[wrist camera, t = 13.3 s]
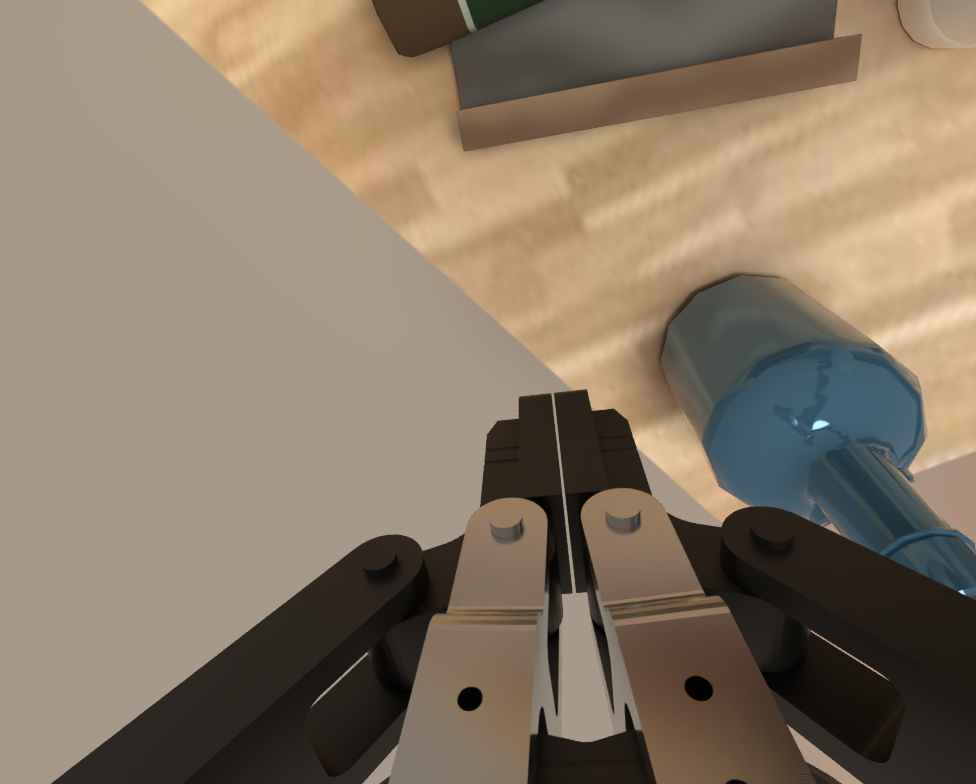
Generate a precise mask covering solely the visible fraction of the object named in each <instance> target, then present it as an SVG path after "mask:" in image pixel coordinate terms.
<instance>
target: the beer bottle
mask: <svg viewBox="0 0 976 784" xmlns="http://www.w3.org/2000/svg"><path fill="white" fill-rule="evenodd" d="M542 1H544V0H372V2H373V5H374V7H375V10H376V12H377V15H378V17H379V19H380V21H381V22H382V24H383V26H384V28H385V30H386V32H387V34H388V36H389V38H390V40H391V41H392V43H393V45H394V47H395V49H396V51H397V53H398V54H399V55H402V56H406V57H415V56H418V55H421V54H423V53H426V52H429V51H431V50H434V49H437V48H439V47H441V46H444V45H446V44H448V43H450V42H453V41H455V40H457V39H459V38H462V37H464V36H466V35H468V34H471V33H473V32H475V31H477V30H479V29H482V28H484V27H486V26H488V25H491V24H493V23H495V22H497V21H500V20H502V19H504V18H506V17H509V16H511V15H513V14H515V13H517V12H520V11H522V10H524V9H526V8H529V7H531V6H533V5H535V4H538V3H540V2H542Z"/></svg>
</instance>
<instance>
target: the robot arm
mask: <svg viewBox="0 0 976 784" xmlns="http://www.w3.org/2000/svg"><path fill="white" fill-rule="evenodd" d="M554 397H555V406H556V415H557V424H558V433H559V443H560V452H561V461H562V470H563V479H564V488H565V496H566V506H567V515H568V524H569V533H570V542H571V550H572V559H573V569H574V578H575V586H576V593H582V592H587V594H588V602H589V609H590V619H591V629H592V635H593V640H594V644H595V649H596V653H597V658H598V662H599V667H600V671H601V676H602V680H603V684H604V689H605V693H606V698H607V702H608V707H609V712H610V716H611V720H612V725H613V730H614V735H613V736H610V737H606V738H603V739H600V740H597V741H593V742H578V741H574V740H570V739H566V738H561V690H562V686H561V685H562V684H561V683H562V628H561V622H562V618H563V605H562V594H570V593H572V583H571V574H570V564H569V554H568V545H567V537H566V536H567V535H566V525H565V517H564V507H563V497H562V487H561V478H560V469H559V460H558V451H557V441H556V432H555V424H554V416H553V405H552V396H551V393H549V394H540V395H531V396H521V397H519V419H511V420H501V421H497V422H496V424H495V425H494V426H493V428H492V429H491V430H490V431H489V433H488V434H487V441H486V453H485V465H484V472H483V483H482V494H481V504H480V508H479V509H478V510H477V511H475V512H474V514H473V515H472V516H471V518H470V519H469V521H468V524H467V527H466V531H465V533H464V534H463V535H462V536H460V537H459V538H457V539H455V540H453V541H451V542H448V543H446V544H443V545H440V546H437V547H434V548H431V549H428V550H425V551H422V549H421V547H420V546H419V544H418V543H417V542H416V541H415V540H413V539H412V538H409V537H407V536H403V535H385V536H380V537H377V538H374V539H371V540H369V541H367V542H365V543H363V544H361V545H360V546H358V547H357V548H355V549H354V550H353V551H351V552H350V553H349V554H348V555H346V556H345V557H344V558H342V559H341V560H340V561H339V562H337V563H336V564H335V565H333V566H332V567H331V568H329V569H328V570H327V571H326V572H324V573H323V574H322V575H320V576H319V577H318V578H317V579H315V580H314V581H313V582H311V583H310V584H309V585H307V586H306V587H305V588H304V589H302V590H301V591H300V592H298V593H297V594H296V595H295V596H293V597H292V598H291V599H289V600H288V601H287V602H286V603H284V604H283V605H282V606H280V607H279V608H278V609H277V610H275V611H274V612H272V613H271V614H270V615H269V616H267V617H266V618H265V619H263V620H262V621H261V622H260V623H258V624H257V625H256V626H255V627H253V628H252V629H251V630H249V631H248V632H247V633H245V634H244V635H243V636H241V637H240V638H239V639H238V640H236V641H235V642H234V643H232V644H231V645H230V646H228V647H227V648H226V649H225V650H223V651H222V652H221V653H219V654H218V655H217V656H216V657H214V658H213V659H212V660H210V661H209V662H208V663H207V664H205V665H204V666H203V667H201V668H200V669H199V670H197V671H196V672H195V673H194V674H192V675H191V676H190V677H188V678H187V679H186V680H185V681H183V682H182V683H181V684H179V685H178V686H177V687H175V688H174V689H173V690H172V691H170V692H169V693H168V694H166V695H165V696H164V697H162V698H161V699H160V700H159V701H157V702H156V703H155V704H153V705H152V706H151V707H150V708H148V709H147V710H146V711H144V712H143V713H142V714H140V715H139V716H138V717H137V718H135V719H134V720H133V721H131V722H130V723H129V724H128V725H126V726H125V727H124V728H122V729H121V730H120V731H119V732H117V733H116V734H115V735H113V736H112V737H111V738H109V739H108V740H107V741H106V742H104V743H103V744H102V745H100V746H99V747H98V748H96V749H95V750H94V751H93V752H91V753H90V754H89V755H87V756H86V757H85V758H84V759H82V760H81V761H80V762H78V763H77V764H76V765H74V766H73V767H72V768H71V769H69V770H68V771H67V772H66V773H64V774H63V775H61V776H60V777H59V778H58V779H56V780H55V781H54V782H53V783H52V784H362V783H363V782H364V781H365V780H366V779H367V778H368V777H369V776H370V774H371V773H372V772H373V771H374V770H375V769H376V768H377V767H378V765H379V764H380V763H381V762H382V761H383V760H384V759H385V758H386V757H387V756H388V754H389V753H390V752H391V751H392V750H393V749H394V748H395V747H396V746H397V744H398V743H399V744H398V748H397V751H396V755H395V759H394V763H393V767H392V771H391V775H390V776H389V777H388V778H386V779H385V780H384V781H383V782H381V783H380V784H841V783H840V782H839V781H837V780H836V779H834V778H833V777H831V776H830V775H828V774H827V773H825V772H823V771H821V770H819V769H818V768H816V767H814V766H812V765H811V764H809V763H807V762H805V760H804V758H803V756H802V754H801V752H800V750H799V748H798V746H797V744H796V742H795V740H794V738H793V736H792V734H791V732H790V730H789V728H788V726H787V725H789V726H790V727H791V728H793V729H794V730H795V731H796V732H798V733H799V734H800V735H802V736H803V737H804V738H805V739H807V740H808V741H809V742H811V743H812V744H813V745H815V746H816V747H817V748H818V749H820V750H821V751H822V752H823V753H825V754H826V755H827V756H829V757H830V758H831V759H832V760H834V761H835V762H836V763H838V764H839V765H840V766H841V767H843V768H844V769H845V770H847V771H848V772H849V773H851V774H852V775H853V776H854V777H856V778H857V779H858V780H859V781H861V782H862V783H863V784H976V600H975V599H972V598H970V597H968V596H966V595H964V594H962V593H960V592H958V591H956V590H954V589H952V588H949V587H947V586H945V585H943V584H941V583H939V582H937V581H935V580H933V579H931V578H929V577H927V576H924V575H922V574H920V573H918V572H916V571H914V570H912V569H910V568H908V567H906V566H904V565H901V564H899V563H897V562H895V561H893V560H891V559H889V558H887V557H885V556H883V555H881V554H879V553H876V552H874V551H872V550H870V549H868V548H866V547H864V546H862V545H860V544H858V543H856V542H853V541H851V540H849V539H847V538H845V537H843V536H841V535H839V534H837V533H835V532H833V531H830V530H828V529H826V528H824V527H822V526H820V525H818V524H816V523H814V522H812V521H810V520H808V519H805V518H803V517H801V516H799V515H797V514H795V513H792V512H790V511H787V510H783V509H780V508H775V507H767V506H754V507H747V508H743V509H740V510H737V511H735V512H733V513H732V514H730V515H729V516H728V517H727V518H726V519H725V521H724V522H723V525H722V527H716V526H709V525H702V524H696V523H691V522H687V521H684V520H681V519H679V518H676V517H674V516H672V515H670V514H669V513H667V512H666V510H665V508H664V507H663V505H662V504H661V503H660V502H659V501H658V500H657V499H656V498H655V497H653V496H652V494H651V490H650V487H649V484H648V481H647V478H646V475H645V472H644V469H643V466H642V463H641V460H640V457H639V454H638V451H637V449H636V444H635V441H634V438H633V436H632V432H631V429H630V426H629V423H628V420H627V419H625V418H624V417H623V416H622V415H621V414H619V413H618V412H617V411H616V410H615V409H607V410H597V411H592V410H591V406H590V401H589V397H588V392H587V389H585V390H576V391H567V392H558V393H554ZM811 630H812V631H814V632H815V633H817V634H819V635H820V636H822V637H823V638H825V639H827V640H828V641H830V642H831V643H833V644H835V645H836V646H838V647H839V648H841V649H843V650H844V651H846V652H847V653H849V654H850V655H852V656H854V657H855V658H857V659H858V660H860V661H862V662H863V663H865V664H867V665H868V666H870V667H871V668H873V669H874V670H876V671H878V672H879V673H880V674H882V675H883V676H885V677H886V678H887V679H888V680H889V681H888V680H887V679H885V678H884V677H882V676H880V675H879V674H877V673H876V672H874V671H872V670H871V669H869V668H867V667H866V666H864V665H863V664H861V663H860V662H858V661H856V660H855V659H853V658H852V657H850V656H849V655H847V654H845V653H844V652H842V651H841V650H839V649H837V648H836V647H834V646H833V645H831V644H829V643H828V642H826V641H825V640H823V639H821V638H820V637H818V636H817V635H815V634H813V633H812V632H811ZM366 652H367V653H368V655H367V656H366V657H364V658H363V659H362V660H361V661H360V662H359V663H358V664H357V665H356V666H355V667H354V668H353V669H352V670H351V671H350V672H348V674H346V675H345V676H344V677H343V678H342V679H341V680H340V681H339V682H338V683H337V684H336V685H335V686H334V687H333V688H331V689H330V690H329V691H328V692H327V693H326V694H325V695H324V696H323V697H322V698H321V699H320V700H319V701H317V703H315V704H314V705H313V706H312V704H313V703H314V702H315V701H316V699H317V698H318V697H319V696H320V695H321V694H322V693H323V692H324V691H325V690H327V689H328V688H329V687H330V686H331V685H332V684H333V683H334V682H335V681H336V680H337V679H338V678H339V677H340V676H342V675H343V674H344V673H345V672H346V671H347V670H348V669H349V668H350V667H351V666H352V665H353V664H354V663H356V661H358V660H359V659H360V658H361V657H362V656H363V655H364V654H365V653H366ZM311 706H312V707H311ZM310 707H311V708H310Z"/></svg>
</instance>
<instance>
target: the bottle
mask: <svg viewBox="0 0 976 784" xmlns="http://www.w3.org/2000/svg"><path fill="white" fill-rule="evenodd" d="M898 9H899V14H900V18H901V22H902V26H903V28H904V29H905V30H906V31H907V33H908V34H909V35H910V36H911V38H912V39H913V40H914V41H915V42H917V43H920V44H922V45H924V46H927V47H929V48H931V49H936V48H944V49H954V48H976V0H898Z"/></svg>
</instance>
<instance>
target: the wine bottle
mask: <svg viewBox="0 0 976 784" xmlns="http://www.w3.org/2000/svg"><path fill="white" fill-rule="evenodd" d="M660 363H661V366H662V369H663V371H664V374H665V376H666V379H667V382H668V384H669V387H670V390H671V392H672V395H673V397H674V399H675V401H676V403H677V405H678V407H679V409H680V411H681V413H682V415H683V417H684V419H685V421H686V423H687V425H688V427H689V429H690V431H691V433H692V435H693V437H694V438H695V440H696V442H697V444H698V446H699V448H700V450H701V452H702V454H703V456H704V458H705V460H706V462H707V464H708V466H709V468H710V470H711V472H712V474H713V476H714V478H715V480H716V482H717V483H718V485H719V487H721V488H722V489H724V490H725V491H727V492H728V493H730V494H731V495H733V496H735V497H736V498H738V499H739V500H741V501H742V502H744V503H745V504H747V505H749V506H750V507H754V506H767V507H775V508H780V509H783V510H787V511H790V512H792V513H795V514H797V515H799V516H801V517H803V518H805V519H808V520H810V521H812V522H814V523H816V524H818V525H820V526H822V527H824V526H827V525H829V524H831V523H832V524H833V525H834V526H835V527H836V529H837V530H838V531H839V532H840V534H841V535H842V536H843V537H845V538H847V539H849V540H851V541H853V542H856V543H858V544H860V545H862V546H864V547H866V548H868V549H870V550H872V551H874V552H876V553H879V554H881V555H883V556H885V557H887V558H889V559H891V560H893V561H895V562H897V563H899V564H901V565H904V566H906V567H908V568H910V569H912V570H914V571H916V572H918V573H920V574H922V575H924V576H927V577H929V578H931V579H933V580H935V581H937V582H939V583H941V584H943V585H945V586H947V587H949V588H952V589H954V590H956V591H958V592H960V593H962V594H964V595H966V596H968V597H970V598H972V599H975V600H976V549H975V543H974V542H973V541H972V540H970V539H969V538H968V537H966V536H965V535H963V534H962V533H961V532H959V531H958V530H956V529H952V528H951V527H950V526H949V525H948V524H947V523H946V522H945V520H944V519H943V518H942V517H941V516H940V515H939V514H938V513H937V512H936V510H935V509H934V508H933V507H932V506H931V505H930V504H929V503H928V502H927V501H926V500H925V498H924V497H923V496H922V495H921V494H920V493H919V492H918V491H917V490H916V489H915V487H914V486H913V485H912V483H913V482H915V476H914V475H913V474H912V473H911V472H910V471H909V469H908V468H909V466H910V465H911V463H912V461H913V460H914V458H915V456H916V455H917V453H918V452H919V450H920V448H921V447H922V445H923V443H924V441H925V439H926V437H927V425H926V419H925V412H924V405H923V399H922V392H921V387H920V383H919V380H918V377H917V376H916V375H915V374H914V373H913V372H911V371H910V370H909V369H908V368H906V367H905V366H904V365H903V364H901V363H900V362H899V361H898V360H896V359H895V358H894V357H893V356H891V355H890V354H889V353H888V352H886V351H885V350H884V349H883V348H881V347H880V346H879V345H878V344H876V343H875V342H874V341H873V340H871V339H870V338H868V337H867V336H866V335H864V334H863V333H861V332H860V331H858V330H857V329H856V328H854V327H853V326H851V325H850V324H849V323H847V322H846V321H844V320H843V319H841V318H840V317H839V316H837V315H836V314H834V313H833V312H832V311H830V310H829V309H827V308H826V307H825V306H823V305H822V304H820V303H819V302H817V301H816V300H815V299H813V298H812V297H810V296H809V295H808V294H806V293H805V292H803V291H802V290H800V289H799V288H798V287H796V286H795V285H793V284H792V283H791V282H789V281H788V280H786V279H783V278H771V277H759V276H747V275H741V276H738V277H735V278H733V279H730V280H728V281H726V282H723V283H721V284H718V285H716V286H713V287H711V288H709V289H706V290H704V291H701V292H699V293H698V294H697V295H696V296H695V297H694V298H693V299H692V300H691V301H690V302H689V303H688V305H687V306H686V307H685V308H684V309H683V310H682V311H681V312H680V313H679V314H678V316H677V317H676V318H675V319H674V320H673V321H672V322H671V323H670V325H669V328H668V332H667V337H666V341H665V345H664V349H663V353H662V357H661V361H660Z"/></svg>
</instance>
